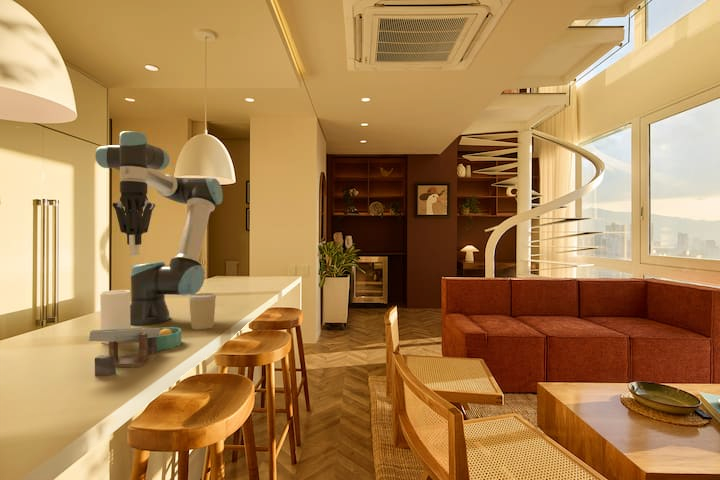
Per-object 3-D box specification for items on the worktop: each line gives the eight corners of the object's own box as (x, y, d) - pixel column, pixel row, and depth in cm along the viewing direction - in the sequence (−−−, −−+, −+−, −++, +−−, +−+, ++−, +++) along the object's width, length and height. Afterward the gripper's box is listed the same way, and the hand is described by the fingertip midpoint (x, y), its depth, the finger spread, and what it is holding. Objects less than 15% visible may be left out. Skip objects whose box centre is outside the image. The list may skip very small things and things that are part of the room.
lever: (123, 339, 112) (124, 327, 113) (159, 340, 111) (160, 328, 112) (69, 344, 93) (71, 329, 94) (112, 345, 92) (114, 330, 93)
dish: (156, 339, 124) (155, 326, 124) (187, 340, 123) (187, 327, 123) (133, 349, 113) (133, 336, 113) (168, 350, 112) (168, 337, 112)
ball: (158, 343, 120) (164, 334, 123) (170, 344, 119) (176, 335, 123) (154, 334, 117) (160, 325, 121) (166, 335, 117) (172, 326, 121)
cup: (136, 336, 127) (135, 290, 126) (118, 344, 118) (117, 294, 118) (113, 336, 127) (113, 289, 127) (94, 343, 119) (93, 293, 119)
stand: (132, 350, 113) (132, 324, 112) (167, 351, 112) (167, 325, 112) (81, 374, 94) (81, 343, 94) (123, 376, 93) (123, 344, 93)
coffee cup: (207, 322, 147) (206, 292, 147) (221, 326, 142) (220, 294, 141) (184, 327, 140) (183, 295, 139) (198, 331, 134) (197, 298, 134)
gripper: (105, 179, 116) (106, 255, 116) (145, 179, 115) (146, 256, 115) (122, 182, 123) (123, 254, 124) (160, 182, 122) (160, 254, 123)
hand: (134, 255), depth 120 cm, fingers closed
